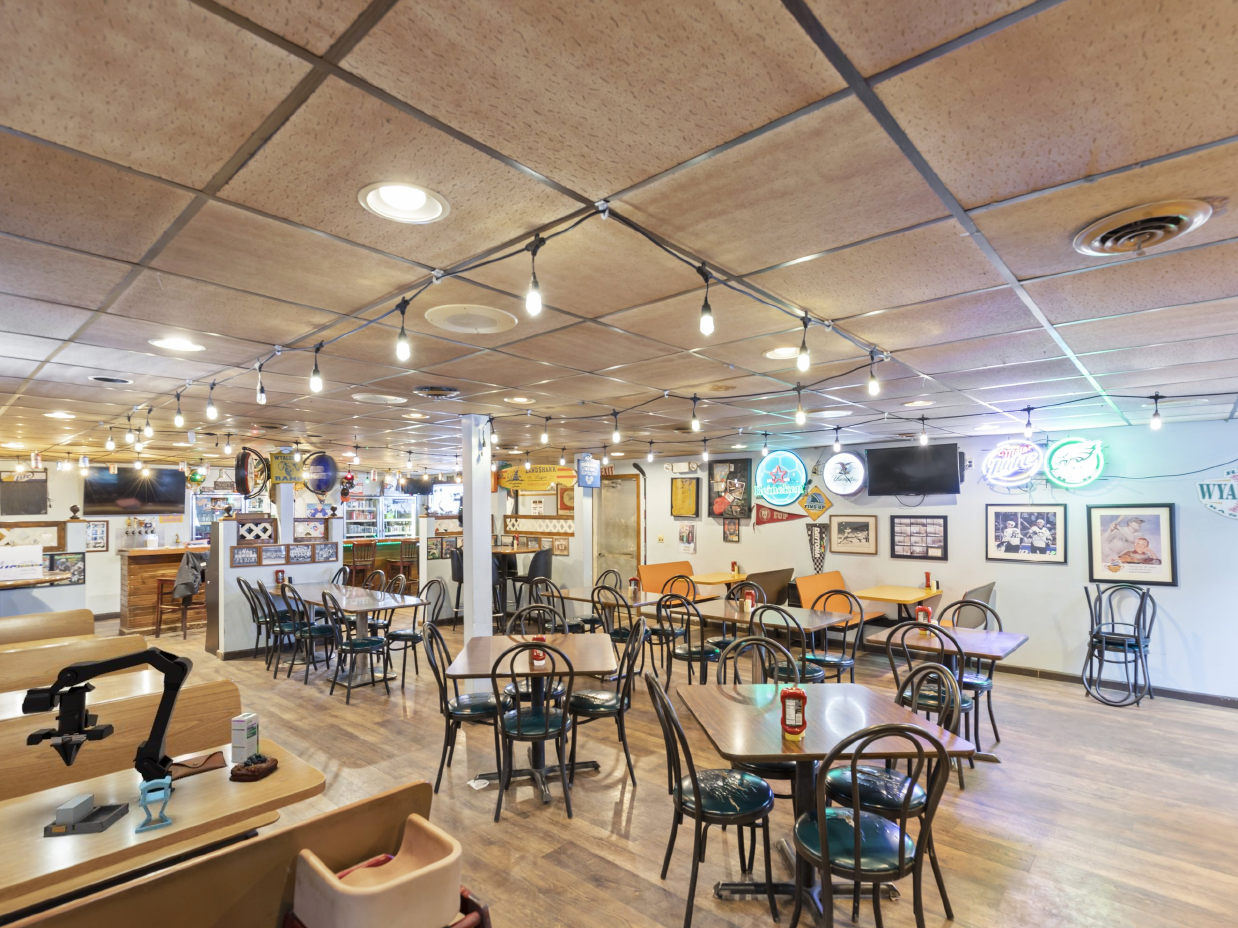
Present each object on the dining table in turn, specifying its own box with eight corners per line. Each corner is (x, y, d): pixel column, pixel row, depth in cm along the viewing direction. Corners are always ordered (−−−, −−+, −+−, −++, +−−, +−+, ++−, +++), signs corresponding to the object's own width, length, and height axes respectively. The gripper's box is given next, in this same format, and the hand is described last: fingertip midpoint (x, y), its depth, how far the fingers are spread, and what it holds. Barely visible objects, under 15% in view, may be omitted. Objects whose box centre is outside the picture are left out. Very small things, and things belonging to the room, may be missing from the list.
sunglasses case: (163, 783, 192) (161, 761, 195) (158, 790, 196) (157, 768, 198) (230, 765, 205) (227, 745, 208) (224, 771, 209) (222, 751, 212)
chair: (172, 812, 173) (173, 768, 174) (171, 824, 166) (172, 778, 167) (137, 821, 169) (139, 775, 170) (135, 833, 162) (136, 785, 163)
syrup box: (245, 763, 206) (246, 718, 207) (230, 762, 208) (231, 717, 209) (259, 756, 212) (259, 712, 213) (244, 755, 213) (244, 711, 214)
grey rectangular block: (93, 812, 172) (94, 793, 172) (72, 827, 164) (73, 807, 164) (77, 814, 171) (77, 795, 172) (55, 828, 163) (56, 808, 164)
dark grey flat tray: (128, 811, 174) (128, 802, 175) (101, 832, 163) (101, 822, 163) (74, 816, 173) (74, 807, 173) (42, 837, 161) (43, 827, 162)
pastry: (224, 783, 192) (224, 763, 193) (249, 766, 204) (250, 748, 205) (258, 783, 191) (258, 763, 192) (282, 767, 203) (282, 748, 204)
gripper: (125, 698, 188) (123, 751, 187) (54, 702, 184) (51, 757, 183) (102, 709, 177) (100, 766, 176) (26, 714, 173) (23, 773, 172)
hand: (69, 765), depth 177 cm, fingers closed
